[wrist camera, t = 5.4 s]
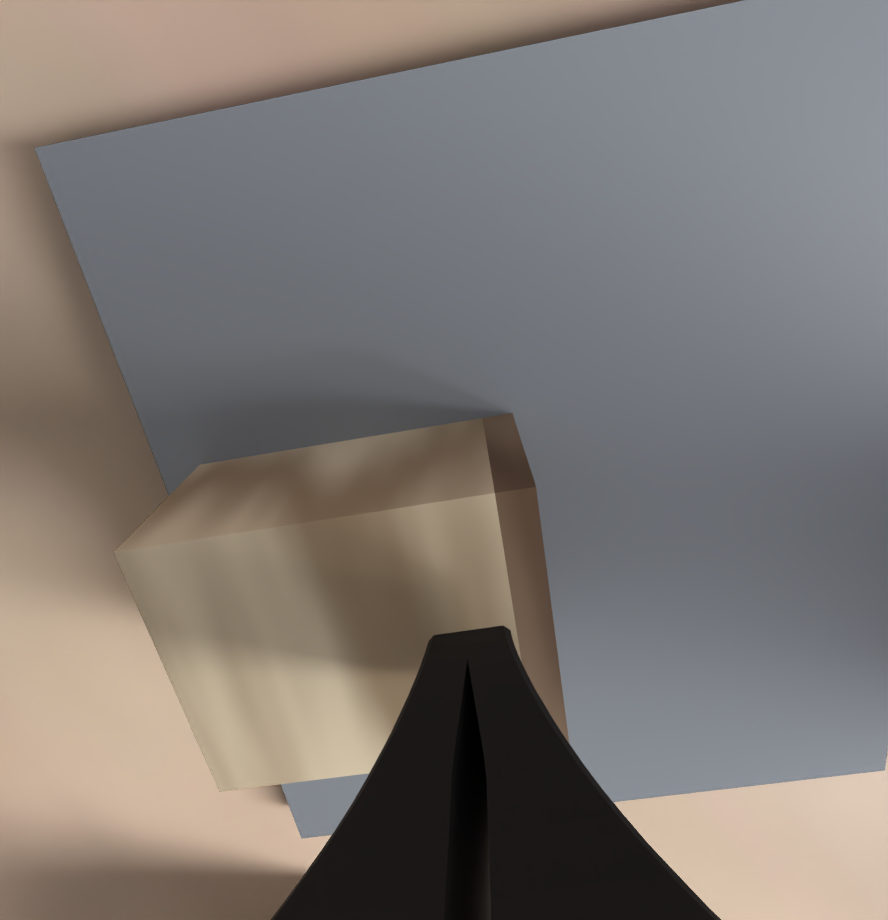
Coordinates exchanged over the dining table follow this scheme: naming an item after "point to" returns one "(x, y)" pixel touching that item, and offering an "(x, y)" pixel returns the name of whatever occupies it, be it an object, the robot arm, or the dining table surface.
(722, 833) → the dining table surface
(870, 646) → the slate board
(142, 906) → the dining table surface
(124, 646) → the dining table surface
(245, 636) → the maple block
